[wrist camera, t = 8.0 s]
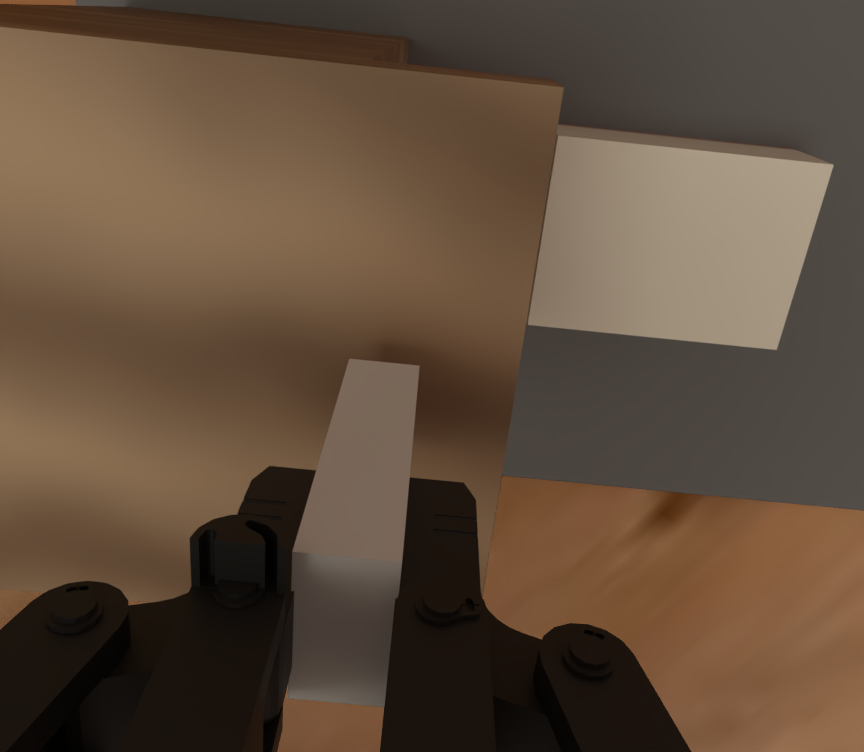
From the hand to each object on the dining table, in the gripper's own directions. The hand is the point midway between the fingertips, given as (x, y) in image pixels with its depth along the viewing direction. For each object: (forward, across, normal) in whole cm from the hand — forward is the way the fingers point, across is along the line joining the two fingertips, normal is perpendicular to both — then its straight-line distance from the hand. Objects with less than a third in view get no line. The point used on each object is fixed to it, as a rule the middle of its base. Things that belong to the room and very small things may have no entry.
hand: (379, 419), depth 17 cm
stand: (+21, +5, 0) cm, 22 cm away
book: (+17, -11, 0) cm, 20 cm away
